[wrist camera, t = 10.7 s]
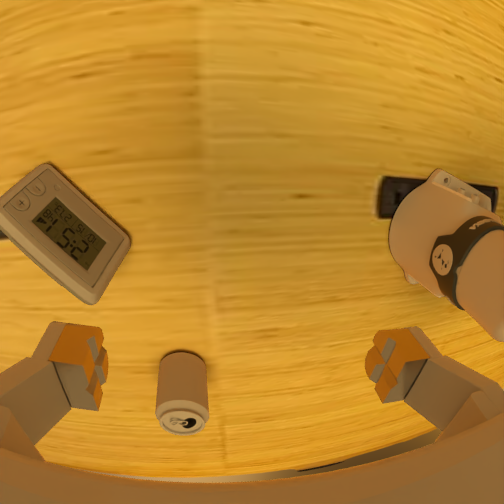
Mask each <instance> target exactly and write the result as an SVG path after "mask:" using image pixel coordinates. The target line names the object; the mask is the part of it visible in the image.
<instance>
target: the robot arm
mask: <svg viewBox="0 0 504 504" xmlns="http://www.w3.org/2000/svg"><path fill="white" fill-rule="evenodd" d="M444 179H445V181H444ZM389 245H390V250H391V253H392V256H393V258H394V259H395V261H396V262H397V263H398V264H399V265H400V266H401V267H402V268H403V270H404V274H405V278H406V280H407V281H408V282H409V283H411V284H417V283H420V284H421V285H422V286H424V287H425V288H426V289H427V290H429V291H430V292H431V293H433V294H434V295H435V296H437V297H439V298H441V297H444V296H445V297H446V298H447V299H448V300H449V301H450V302H451V303H452V304H453V305H455V306H457V307H458V308H459V309H461V310H465V311H466V312H467V313H468V314H469V315H470V316H471V317H472V318H474V319H475V320H476V321H477V322H478V323H479V324H480V325H481V326H482V327H483V328H484V329H485V330H486V332H487V333H488V334H489V335H490V336H491V337H492V338H493V339H495V340H497V341H500V342H504V226H503V225H502V224H501V219H500V217H499V216H498V215H496V214H494V213H492V212H491V199H490V198H489V197H487V196H486V195H484V194H483V193H481V192H480V191H478V190H476V189H475V188H473V187H471V186H470V185H468V184H466V183H465V182H463V181H461V180H460V179H458V178H456V177H454V176H453V175H451V174H449V173H447V172H445V171H444V170H442V169H436V170H435V171H434V172H433V173H432V174H431V176H430V177H429V178H428V180H427V181H426V182H425V183H424V184H422V185H421V186H419V187H417V188H416V189H414V190H413V191H411V192H410V193H409V194H408V195H407V196H406V197H405V198H404V200H403V201H402V202H401V204H400V205H399V207H398V209H397V210H396V212H395V215H394V217H393V220H392V223H391V227H390V233H389ZM103 340H104V337H103V332H102V329H101V328H100V327H94V326H86V325H78V324H71V323H63V322H56V321H53V322H51V323H50V324H49V326H48V328H47V329H46V331H45V333H44V335H43V337H42V338H41V340H40V342H39V344H38V346H37V348H36V349H35V351H34V353H33V355H32V357H31V358H29V357H26V358H25V359H23V360H21V361H20V362H18V363H16V364H15V365H13V366H12V367H10V368H8V369H7V370H5V371H4V372H2V373H0V504H504V391H503V390H502V388H501V387H500V386H499V384H498V383H497V382H495V381H493V380H491V379H489V378H487V377H485V376H483V375H481V374H480V373H478V372H476V371H474V370H472V369H470V368H468V367H466V366H465V365H463V364H461V363H459V362H457V361H455V360H453V359H451V358H449V357H448V356H442V355H441V353H440V352H439V351H438V350H437V348H436V347H435V346H434V345H433V343H432V342H431V341H430V340H429V338H428V337H427V336H426V335H425V334H424V332H423V331H422V330H421V329H420V328H418V327H407V328H401V329H391V330H379V331H378V332H377V333H376V334H375V336H374V339H373V343H374V346H373V347H372V348H371V349H370V350H369V351H368V353H367V356H366V358H365V370H366V373H367V375H368V377H369V379H370V380H372V381H373V382H375V383H376V385H375V391H376V392H377V394H378V396H379V398H380V400H381V402H382V404H383V403H389V402H395V401H400V400H404V402H406V403H407V404H408V405H409V406H411V407H412V408H413V409H414V410H416V411H417V412H418V413H419V414H421V415H422V416H423V417H425V418H426V419H427V420H428V421H430V422H431V423H432V424H433V425H435V426H436V427H437V428H439V429H440V430H441V431H442V433H441V434H440V435H439V437H438V438H437V439H436V440H435V443H433V444H430V445H427V446H425V447H422V448H419V449H416V450H413V451H409V452H406V453H403V454H400V455H397V456H393V457H390V458H387V459H383V460H379V461H375V462H371V463H367V464H363V465H359V466H355V467H350V468H345V469H340V470H336V471H330V472H325V473H320V474H313V475H306V476H300V477H292V478H284V479H275V480H264V481H250V482H232V483H231V482H230V483H183V482H166V481H153V480H141V479H133V478H125V477H117V476H110V475H105V474H99V473H93V472H88V471H83V470H78V469H73V468H69V467H65V466H61V465H56V464H53V463H49V462H46V461H45V460H44V458H43V457H42V455H41V454H40V453H39V451H38V450H37V449H36V447H35V446H34V445H35V444H36V443H37V442H38V441H39V440H40V439H41V438H42V437H43V436H44V435H45V434H46V433H47V432H48V431H49V430H50V429H51V428H52V427H53V426H54V425H55V424H56V423H57V422H59V421H60V420H61V419H62V418H63V417H64V416H65V415H66V414H67V413H68V412H69V411H70V410H71V407H72V408H79V409H86V410H94V411H99V407H100V403H101V399H102V395H103V392H102V389H101V385H102V384H104V383H105V382H106V379H107V375H108V355H107V351H106V350H105V349H104V347H103V346H102V343H103Z"/></svg>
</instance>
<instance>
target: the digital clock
mask: <svg viewBox="0 0 504 504" xmlns="http://www.w3.org/2000/svg"><path fill="white" fill-rule="evenodd" d="M0 229H1V230H2V232H3V233H4V234H5V235H7V236H8V237H9V238H10V240H11V241H12V242H13V243H14V244H15V245H16V246H17V247H18V248H19V249H20V250H21V251H22V252H23V253H24V254H25V255H26V256H28V257H29V258H30V259H31V260H32V261H33V262H34V263H35V264H36V265H38V266H39V267H40V268H41V269H42V270H43V271H44V272H46V273H47V274H48V275H49V276H50V277H51V278H53V279H54V280H55V281H56V282H57V283H58V284H60V285H61V286H63V287H64V288H66V289H67V290H68V291H69V292H71V293H72V294H73V295H74V296H76V297H77V298H78V299H80V300H81V301H82V302H84V303H86V304H88V305H94V304H96V303H97V302H98V301H99V299H100V298H101V296H102V295H103V293H104V291H105V289H106V288H107V286H108V284H109V282H110V281H111V279H112V277H113V276H114V274H115V272H116V270H117V269H118V267H119V265H120V264H121V262H122V260H123V259H124V257H125V256H126V254H127V252H128V251H129V249H130V246H131V243H130V239H129V237H128V236H127V235H126V234H125V233H124V232H123V231H122V230H121V229H120V228H119V227H118V226H117V225H116V224H114V223H113V222H112V221H111V220H110V219H109V218H108V217H106V216H105V215H104V214H103V213H102V212H101V211H100V210H99V209H98V208H96V207H95V206H94V205H93V204H92V203H91V202H90V201H89V200H88V199H87V198H85V197H84V196H83V195H82V194H81V193H80V192H79V191H78V190H77V189H76V188H75V187H74V186H73V185H71V184H70V183H69V182H68V181H67V180H66V179H65V178H64V177H63V176H62V175H61V174H60V173H59V172H58V171H56V170H55V169H54V168H53V167H52V166H51V165H49V164H41V165H39V166H38V167H36V168H35V169H34V170H32V171H31V172H30V173H29V174H27V175H26V176H25V177H24V178H22V179H21V180H20V181H19V182H17V183H16V184H15V185H14V186H13V187H12V188H10V189H9V190H8V191H7V192H6V193H5V194H3V195H2V196H1V197H0Z"/></svg>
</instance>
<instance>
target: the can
mask: <svg viewBox="0 0 504 504" xmlns="http://www.w3.org/2000/svg"><path fill="white" fill-rule="evenodd" d="M155 414H156V417H157V419H158V420H159V423H160V425H161V427H162V428H163V429H164V430H166V431H168V432H169V433H172V434H175V435H192V434H196V433H198V432H200V431H201V430H203V429H204V427H205V423H206V422H207V421H208V419H209V408H208V393H207V376H206V365H205V364H204V362H203V361H202V360H201V359H200V358H199V357H197V356H195V355H193V354H190V353H184V352H179V353H173V354H170V355H168V356H166V357H165V358H163V360H162V361H161V362H160V367H159V376H158V387H157V399H156V412H155Z"/></svg>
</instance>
